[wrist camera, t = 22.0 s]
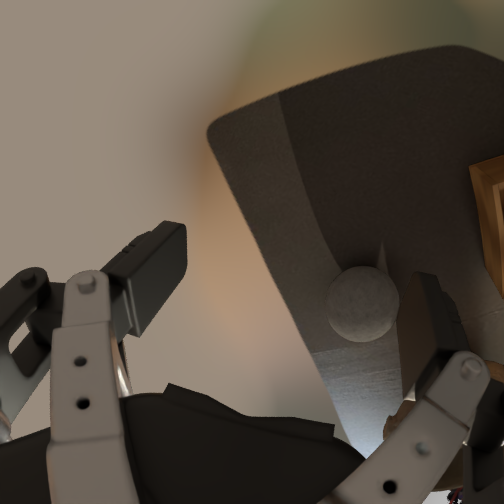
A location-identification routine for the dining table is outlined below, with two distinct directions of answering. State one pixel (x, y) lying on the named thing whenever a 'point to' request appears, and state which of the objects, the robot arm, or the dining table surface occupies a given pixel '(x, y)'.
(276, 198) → the dining table surface
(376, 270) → the decorative ball
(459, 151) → the dining table surface
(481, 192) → the bread box
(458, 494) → the lantern
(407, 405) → the bowl
